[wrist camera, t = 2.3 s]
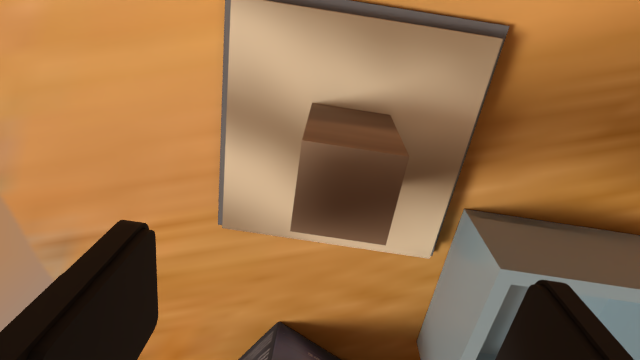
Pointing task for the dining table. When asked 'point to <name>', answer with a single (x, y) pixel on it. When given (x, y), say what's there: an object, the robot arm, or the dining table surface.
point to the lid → (347, 124)
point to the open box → (527, 282)
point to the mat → (341, 3)
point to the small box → (285, 347)
